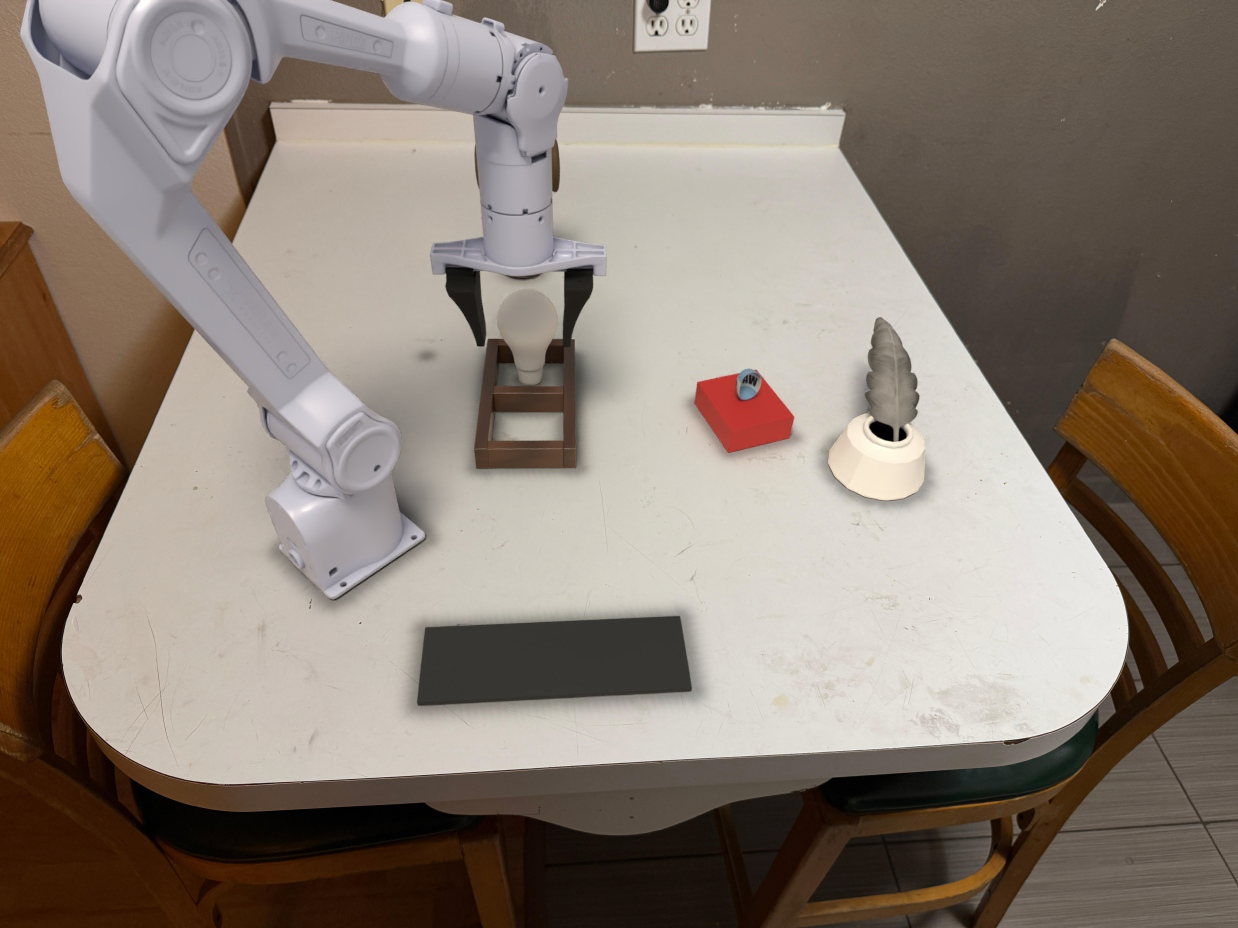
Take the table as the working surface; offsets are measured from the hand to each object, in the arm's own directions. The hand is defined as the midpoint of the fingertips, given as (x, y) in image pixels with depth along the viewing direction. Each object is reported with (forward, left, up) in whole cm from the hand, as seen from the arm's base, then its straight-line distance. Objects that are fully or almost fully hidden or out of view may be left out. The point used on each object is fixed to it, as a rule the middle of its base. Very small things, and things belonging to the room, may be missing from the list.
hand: (524, 340), depth 74 cm
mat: (-17, -21, -10) cm, 29 cm away
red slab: (+16, -15, -11) cm, 24 cm away
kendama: (+20, +22, -11) cm, 32 cm away
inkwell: (+23, -25, -11) cm, 36 cm away
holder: (+2, +2, -10) cm, 11 cm away
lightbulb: (+5, +5, -11) cm, 13 cm away
